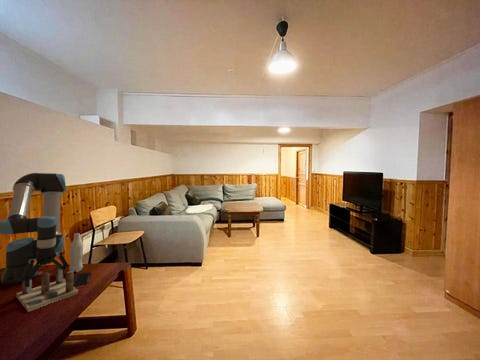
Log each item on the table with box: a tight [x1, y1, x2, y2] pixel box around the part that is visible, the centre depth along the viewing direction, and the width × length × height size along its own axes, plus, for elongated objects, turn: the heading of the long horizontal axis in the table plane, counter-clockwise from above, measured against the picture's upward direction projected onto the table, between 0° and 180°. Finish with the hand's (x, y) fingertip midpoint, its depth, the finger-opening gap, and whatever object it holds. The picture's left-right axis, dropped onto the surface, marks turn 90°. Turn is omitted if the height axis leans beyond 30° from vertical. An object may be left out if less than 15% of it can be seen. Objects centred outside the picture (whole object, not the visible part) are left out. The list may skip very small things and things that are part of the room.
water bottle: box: [68, 232, 84, 273], centre depth 144 cm, size 7×7×25 cm
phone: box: [73, 272, 92, 287], centre depth 135 cm, size 8×1×15 cm
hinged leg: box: [40, 272, 58, 298], centre depth 114 cm, size 4×10×10 cm, turn 66°
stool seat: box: [16, 263, 79, 313], centre depth 116 cm, size 20×20×12 cm
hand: (45, 286), depth 115 cm, fingers open, 13 cm apart
